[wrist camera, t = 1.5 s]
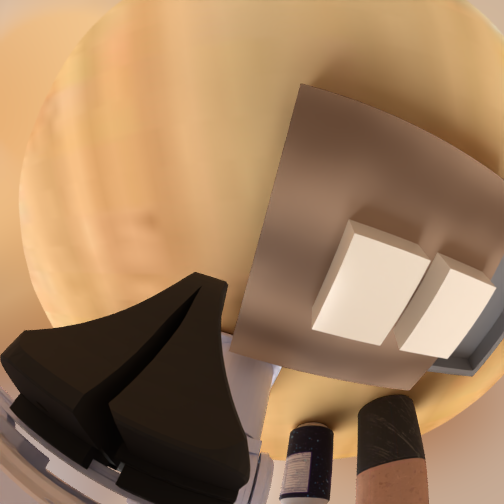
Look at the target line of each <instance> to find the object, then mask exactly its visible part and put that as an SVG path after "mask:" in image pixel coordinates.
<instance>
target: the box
mask: <svg viewBox="0 0 504 504" xmlns="http://www.w3.org/2000/svg"><path fill="white" fill-rule="evenodd" d="M490 281H491V282H492V283H493V284H494V286H495V287H496V289H495V291H494V293H493V295H492V296H491V298H490V300H489V301H488V303H487V305H486V306H485V308H484V309H483V311H482V312H481V314H480V315H479V317H478V318H477V320H476V321H475V323H474V324H473V326H472V327H471V329H470V330H469V331H468V333H467V334H466V336H465V337H464V338H463V340H462V341H461V342H460V344H459V345H458V346H457V348H456V349H455V350H454V351H453V353H452V354H451V355H450V356H449V358H448V359H445V358H439V357H438V359H437V360H436V361H435V362H434V363H433V365H432V366H431V367H430V368H429V369H428V370H427V371H430V372H438V373H445V374H454V375H463V376H473V375H474V374H475V373H476V372H477V371H478V370H479V368H480V367H481V366H482V365H483V364H484V363H485V361H486V360H487V359H488V358H489V356H490V355H491V354H492V353H493V351H494V350H495V349H496V348H497V346H498V345H499V344H500V342H501V341H502V340H503V338H504V255H503V257H502V259H501V261H500V263H499V265H498V267H497V269H496V271H495V273H494V275H493V277H492V278H491V280H490Z"/></svg>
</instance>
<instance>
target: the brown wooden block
mask: <svg viewBox="0 0 504 504" xmlns="http://www.w3.org/2000/svg"><path fill="white" fill-rule="evenodd" d="M349 219H350V220H353V221H356V222H359V223H362V224H364V225H367V226H370V227H373V228H376V229H378V230H381V231H384V232H387V233H389V234H392V235H395V236H397V237H400V238H403V239H405V240H408V241H411V242H413V243H416V244H418V245H419V246H420V247H421V249H422V250H423V251H424V252H425V254H426V255H427V256H428V258H429V259H430V260H431V261H430V263H429V265H428V267H427V269H426V271H425V273H424V275H423V277H422V279H421V280H420V282H419V284H418V286H417V288H416V289H415V291H414V293H413V295H412V296H411V298H410V300H409V302H408V303H407V305H406V307H405V308H404V310H403V312H402V313H401V315H400V316H399V318H398V320H397V321H396V323H395V324H394V326H393V327H392V329H391V330H390V332H389V333H388V335H387V336H386V338H385V339H384V341H383V342H382V344H381V345H380V346H379V345H374V344H370V343H365V342H361V341H357V340H353V339H348V338H344V337H340V336H336V335H332V334H328V333H324V332H321V331H317V330H313V329H312V307H313V305H314V303H315V300H316V298H317V296H318V294H319V291H320V289H321V287H322V285H323V282H324V280H325V278H326V275H327V273H328V270H329V268H330V266H331V263H332V261H333V258H334V256H335V254H336V251H337V249H338V246H339V244H340V241H341V238H342V236H343V233H344V231H345V228H346V225H347V223H348V220H349ZM437 252H438V253H440V254H443V255H445V256H448V257H450V258H452V259H455V260H457V261H459V262H462V263H464V264H466V265H468V266H471V267H473V268H475V269H477V270H480V271H482V272H483V273H484V274H485V275H486V276H487V277H488V279H489V280H491V278H492V277H493V275H494V273H495V271H496V269H497V267H498V265H499V263H500V261H501V259H502V257H503V255H504V179H502V178H501V177H500V176H498V175H497V174H496V173H494V172H493V171H491V170H490V169H489V168H487V167H486V166H484V165H483V164H481V163H480V162H478V161H477V160H475V159H474V158H472V157H471V156H469V155H467V154H466V153H464V152H463V151H461V150H459V149H458V148H456V147H454V146H453V145H451V144H449V143H447V142H446V141H444V140H442V139H440V138H439V137H437V136H435V135H433V134H431V133H429V132H427V131H425V130H423V129H421V128H419V127H417V126H415V125H413V124H411V123H409V122H407V121H405V120H403V119H400V118H398V117H396V116H394V115H391V114H389V113H387V112H384V111H382V110H380V109H377V108H375V107H372V106H369V105H367V104H364V103H362V102H359V101H356V100H353V99H350V98H348V97H345V96H342V95H339V94H336V93H332V92H329V91H326V90H323V89H319V88H316V87H312V86H309V85H305V84H300V88H299V92H298V96H297V99H296V103H295V107H294V111H293V115H292V118H291V122H290V126H289V130H288V133H287V137H286V141H285V145H284V148H283V152H282V156H281V160H280V163H279V167H278V171H277V175H276V178H275V182H274V186H273V190H272V193H271V197H270V201H269V205H268V208H267V212H266V216H265V220H264V223H263V227H262V231H261V234H260V238H259V242H258V245H257V249H256V253H255V257H254V260H253V264H252V268H251V271H250V275H249V279H248V282H247V286H246V290H245V293H244V297H243V301H242V305H241V308H240V312H239V316H238V319H237V323H236V327H235V330H234V334H233V337H232V341H231V345H230V348H229V351H230V352H233V353H236V354H239V355H242V356H246V357H249V358H252V359H256V360H259V361H263V362H267V363H270V364H274V365H278V366H281V367H285V368H289V369H293V370H297V371H301V372H306V373H310V374H314V375H319V376H324V377H328V378H333V379H338V380H343V381H349V382H354V383H360V384H366V385H372V386H378V387H385V388H393V389H400V390H410V389H411V388H412V387H413V386H414V385H415V384H416V383H417V382H418V381H419V379H420V378H421V377H422V376H423V375H424V374H425V373H426V372H427V370H428V369H429V368H430V367H431V366H432V365H433V363H434V362H435V361H436V360H437V359H438V357H433V356H428V355H423V354H417V353H412V352H407V351H402V350H399V347H398V343H397V340H396V337H395V333H394V330H393V329H394V327H395V326H396V324H397V323H398V321H399V320H400V318H401V317H402V315H403V313H404V312H405V310H406V309H407V307H408V305H409V304H410V302H411V300H412V298H413V297H414V295H415V293H416V292H417V290H418V288H419V286H420V284H421V283H422V281H423V279H424V277H425V275H426V273H427V271H428V270H429V268H430V266H431V264H432V262H433V260H434V258H435V256H436V254H437Z"/></svg>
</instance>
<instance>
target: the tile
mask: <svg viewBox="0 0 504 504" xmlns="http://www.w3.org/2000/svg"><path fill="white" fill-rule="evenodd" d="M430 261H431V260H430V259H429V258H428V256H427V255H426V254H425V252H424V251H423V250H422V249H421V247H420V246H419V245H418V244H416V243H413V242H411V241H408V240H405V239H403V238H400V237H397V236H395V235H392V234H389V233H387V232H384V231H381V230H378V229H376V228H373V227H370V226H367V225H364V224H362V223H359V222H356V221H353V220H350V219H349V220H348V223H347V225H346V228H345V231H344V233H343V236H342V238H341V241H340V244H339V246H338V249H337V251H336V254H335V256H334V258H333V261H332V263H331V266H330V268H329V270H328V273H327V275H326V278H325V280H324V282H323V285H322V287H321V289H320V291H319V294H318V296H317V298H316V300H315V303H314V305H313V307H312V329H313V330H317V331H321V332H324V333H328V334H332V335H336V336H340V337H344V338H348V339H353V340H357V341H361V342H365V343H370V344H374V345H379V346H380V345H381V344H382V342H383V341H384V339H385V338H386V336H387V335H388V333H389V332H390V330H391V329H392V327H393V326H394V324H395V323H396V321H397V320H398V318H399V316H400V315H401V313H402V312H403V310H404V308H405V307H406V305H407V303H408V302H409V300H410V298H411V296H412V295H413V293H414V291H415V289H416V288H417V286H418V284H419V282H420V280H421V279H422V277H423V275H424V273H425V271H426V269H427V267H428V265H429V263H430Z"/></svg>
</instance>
